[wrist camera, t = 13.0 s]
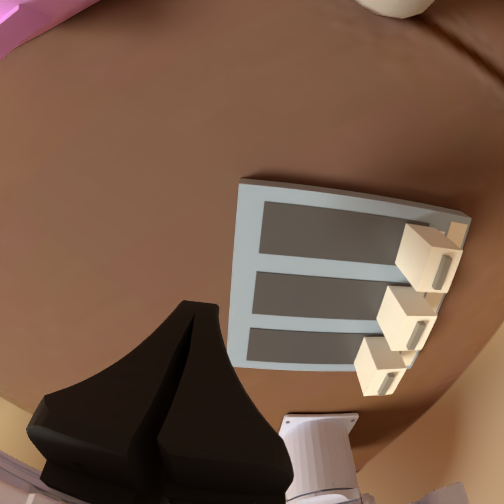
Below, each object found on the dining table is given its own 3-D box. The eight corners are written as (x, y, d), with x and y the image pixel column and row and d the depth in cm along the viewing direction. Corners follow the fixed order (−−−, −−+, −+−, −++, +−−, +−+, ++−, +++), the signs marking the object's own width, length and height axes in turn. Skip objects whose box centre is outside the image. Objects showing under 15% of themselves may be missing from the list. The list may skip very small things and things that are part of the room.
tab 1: (380, 362, 23) (393, 397, 19) (353, 363, 23) (365, 399, 19) (391, 336, 22) (408, 372, 18) (364, 336, 22) (378, 373, 18)
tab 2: (423, 265, 19) (450, 296, 16) (394, 263, 19) (419, 295, 15) (435, 227, 18) (466, 253, 14) (405, 223, 18) (435, 249, 14)
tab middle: (403, 319, 21) (423, 353, 17) (376, 318, 21) (393, 355, 17) (416, 287, 20) (440, 319, 16) (387, 285, 20) (409, 320, 16)
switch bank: (404, 357, 25) (410, 369, 23) (227, 352, 25) (225, 366, 23) (460, 211, 19) (472, 218, 17) (240, 178, 19) (238, 183, 17)
